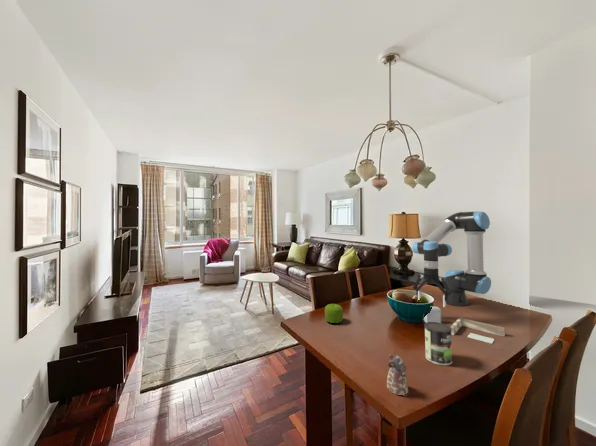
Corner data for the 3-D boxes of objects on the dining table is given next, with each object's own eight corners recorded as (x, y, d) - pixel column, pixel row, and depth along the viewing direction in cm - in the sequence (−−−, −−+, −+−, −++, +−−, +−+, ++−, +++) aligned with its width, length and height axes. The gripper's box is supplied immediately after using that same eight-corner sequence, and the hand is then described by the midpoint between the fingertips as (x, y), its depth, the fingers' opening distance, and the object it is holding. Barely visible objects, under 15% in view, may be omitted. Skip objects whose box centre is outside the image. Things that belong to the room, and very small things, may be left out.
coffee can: (458, 361, 105) (457, 328, 104) (441, 368, 100) (440, 333, 100) (435, 350, 114) (435, 320, 114) (419, 355, 110) (419, 324, 110)
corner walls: (459, 324, 141) (459, 317, 141) (504, 335, 126) (504, 327, 126) (450, 334, 129) (450, 326, 129) (499, 347, 115) (499, 339, 115)
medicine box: (437, 320, 147) (437, 306, 147) (441, 324, 142) (441, 309, 142) (424, 320, 148) (423, 306, 147) (427, 323, 143) (426, 309, 143)
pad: (470, 333, 130) (470, 332, 130) (494, 339, 122) (494, 338, 122) (467, 337, 126) (467, 336, 126) (492, 343, 118) (492, 343, 118)
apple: (347, 322, 148) (346, 304, 148) (333, 327, 142) (333, 308, 142) (334, 316, 158) (333, 299, 158) (321, 321, 152) (320, 303, 152)
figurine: (404, 399, 84) (403, 363, 84) (383, 390, 88) (382, 356, 88) (411, 388, 89) (410, 355, 89) (391, 380, 94) (390, 348, 94)
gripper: (406, 266, 151) (407, 300, 151) (453, 271, 133) (454, 310, 133) (411, 264, 156) (412, 298, 156) (457, 269, 138) (458, 307, 138)
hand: (431, 303), depth 145 cm, fingers open, 13 cm apart
